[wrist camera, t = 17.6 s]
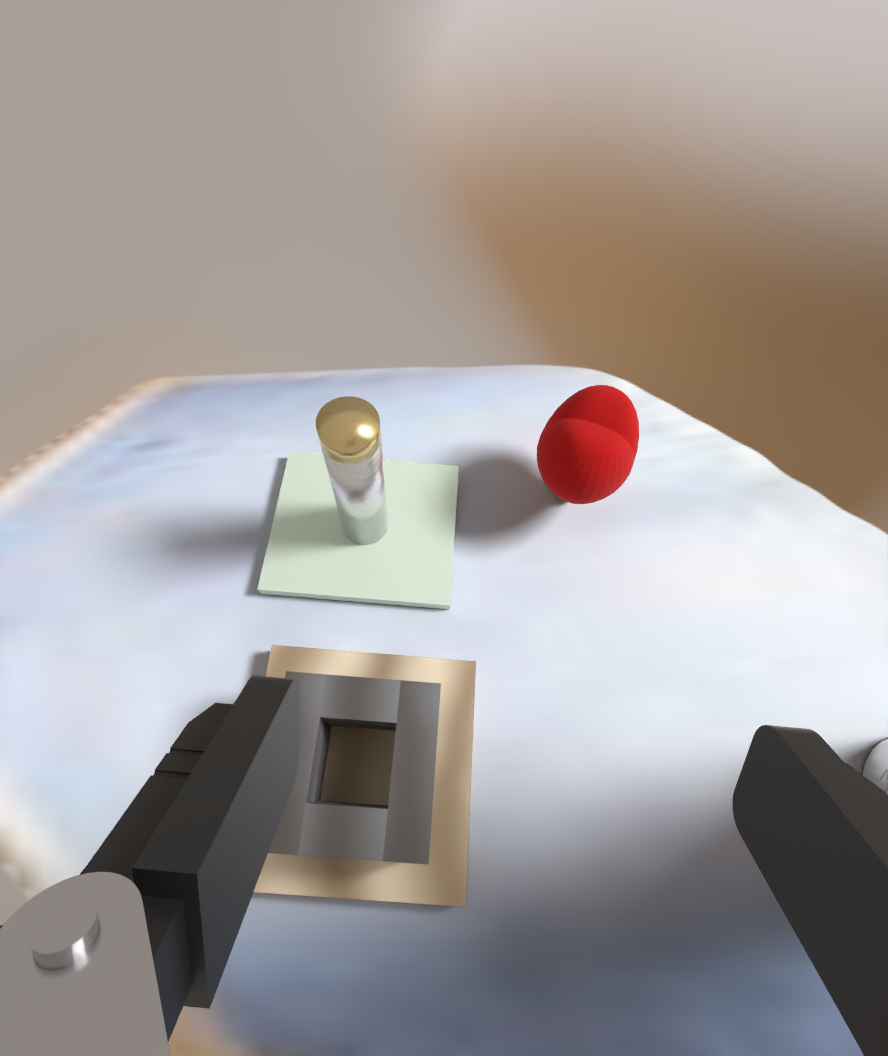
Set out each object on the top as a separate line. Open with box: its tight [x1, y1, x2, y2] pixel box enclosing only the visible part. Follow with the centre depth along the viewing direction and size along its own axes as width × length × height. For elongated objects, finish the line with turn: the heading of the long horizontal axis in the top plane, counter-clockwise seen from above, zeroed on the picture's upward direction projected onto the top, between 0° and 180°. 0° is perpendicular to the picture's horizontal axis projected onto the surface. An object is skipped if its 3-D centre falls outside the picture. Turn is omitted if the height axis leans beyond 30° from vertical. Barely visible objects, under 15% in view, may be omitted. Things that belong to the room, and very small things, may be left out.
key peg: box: [316, 397, 388, 545], centre depth 35 cm, size 4×4×13 cm
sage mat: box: [257, 451, 459, 609], centre depth 42 cm, size 14×12×1 cm
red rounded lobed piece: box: [537, 385, 639, 504], centre depth 40 cm, size 9×7×10 cm
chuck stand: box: [254, 645, 476, 907], centre depth 32 cm, size 14×14×6 cm
